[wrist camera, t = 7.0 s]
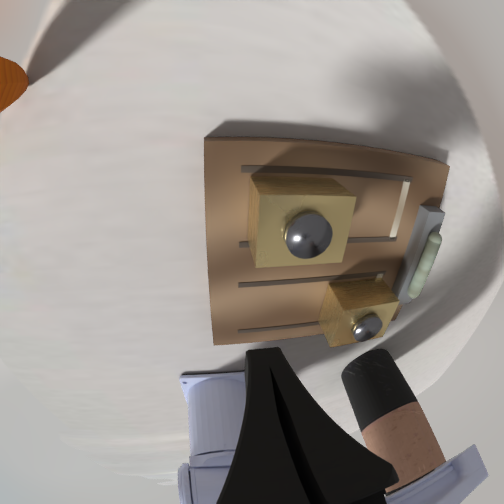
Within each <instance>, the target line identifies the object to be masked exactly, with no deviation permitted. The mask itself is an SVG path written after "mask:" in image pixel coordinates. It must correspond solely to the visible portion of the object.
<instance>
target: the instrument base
mask: <svg viewBox="0 0 504 504" xmlns="http://www.w3.org/2000/svg"><path fill="white" fill-rule="evenodd" d="M449 168H450V166H448V165H446V164H444V163H442V162H440V161H438V160H434V159H430V158H425V157H421V156H416V155H412V154H407V153H402V152H396V151H391V150H385V149H379V148H373V147H366V146H359V145H352V144H344V143H336V142H326V141H316V140H304V139H289V138H268V137H204V181H205V217H206V241H207V261H208V278H209V293H210V307H211V319H212V331H213V343H214V345H228V344H241V343H252V342H262V341H272V340H281V339H289V338H297V337H304V336H311V335H318V334H324V332H323V330H322V328H321V326H320V324H319V321H318V319H319V316H320V312H321V309H322V305H323V301H324V298H325V294H326V290H327V286H328V283H337V282H347V281H356V280H365V279H374V278H382V279H383V280H384V281H385V283H386V284H387V285H388V286H389V288H390V289H391V290H392V292H393V293H394V294H395V295H396V297H397V298H398V299H399V301H400V302H399V304H398V306H397V308H396V311H395V313H394V315H393V317H392V319H391V321H393V320H395V319H396V317H397V315H398V313H399V311H400V309H401V307H402V305H403V304H407V303H410V302H411V300H412V298H417V297H418V296H419V295H420V293H421V290H422V288H423V286H424V284H425V282H426V279H427V277H428V275H429V272H430V270H431V268H432V265H433V263H434V260H435V258H436V255H437V253H438V250H439V248H440V245H441V242H442V237H441V235H440V234H439V231H440V228H441V225H442V222H443V219H444V216H445V212H443V211H442V210H441V209H439V207H440V204H441V200H442V196H443V193H444V189H445V185H446V181H447V177H448V172H449ZM250 176H273V177H312V178H332V179H334V180H336V181H337V182H338V183H340V184H341V185H342V186H343V187H345V188H346V189H347V190H349V191H350V192H351V193H352V194H354V195H355V196H356V202H355V207H354V212H353V217H352V221H351V226H350V230H349V235H348V239H347V243H346V248H345V252H344V256H343V260H342V262H340V263H326V264H311V265H295V266H279V267H262V268H256V267H255V264H254V260H253V257H252V253H251V250H250V247H249V243H248V240H247V239H248V214H249V190H250Z"/></svg>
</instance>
